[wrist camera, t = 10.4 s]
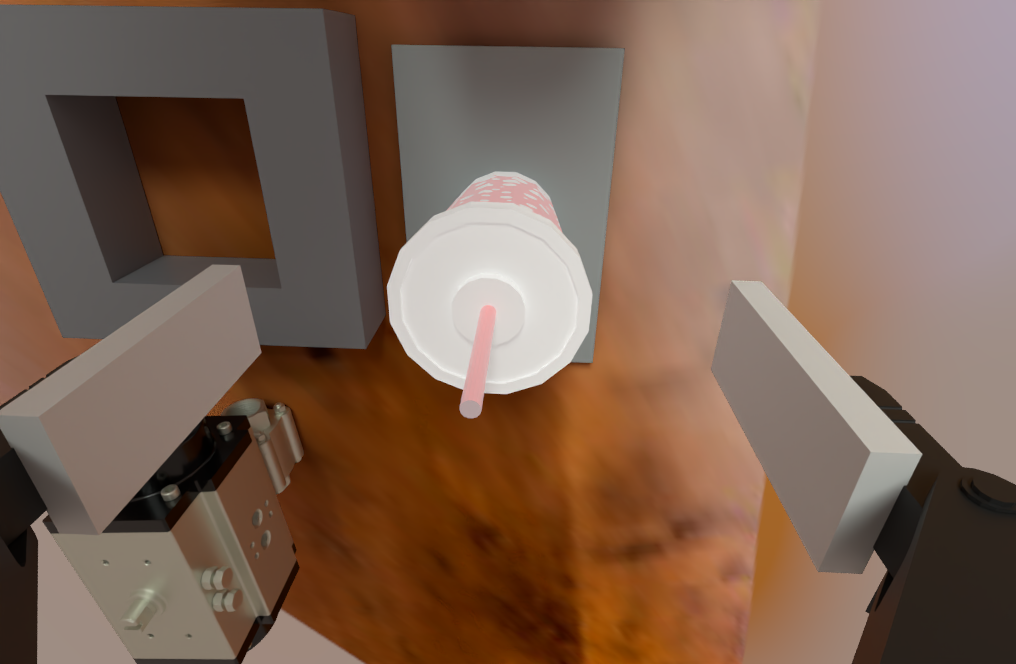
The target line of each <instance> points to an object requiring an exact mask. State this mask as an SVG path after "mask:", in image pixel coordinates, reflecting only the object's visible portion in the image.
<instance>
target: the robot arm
mask: <svg viewBox="0 0 1016 664" xmlns="http://www.w3.org/2000/svg"><path fill="white" fill-rule="evenodd" d="M260 354H261V349H260V344H259V340H258V336H257V332H256V328H255V324H254V320H253V316H252V312H251V308H250V303H249V299H248V295H247V291H246V287H245V283H244V279H243V275H242V271H241V267H240V265H211V266H210V267H208V268H207V269H205V270H204V271H202V272H201V273H199V274H198V275H196V276H195V277H194V278H192V279H191V280H189V281H188V282H186V283H185V284H183V285H182V286H180V287H179V288H177V289H176V290H175V291H173V292H172V293H170V294H169V295H167V296H166V297H164V298H163V299H161V300H160V301H158V302H157V303H156V304H154V305H153V306H151V307H150V308H148V309H147V310H145V311H144V312H142V313H141V314H139V315H138V316H137V317H135V318H134V319H132V320H131V321H129V322H128V323H126V324H125V325H123V326H122V327H120V328H119V329H118V330H116V331H115V332H113V333H112V334H110V335H109V336H107V337H106V338H104V339H103V340H101V341H100V342H99V343H97V344H96V345H94V346H93V347H91V348H90V349H88V350H87V351H85V352H84V353H82V354H81V355H80V356H77V357H75V358H73V359H70V360H68V361H66V362H65V363H63V364H62V365H60V366H59V367H57V368H56V369H54V370H53V371H51V372H50V373H49V374H47V375H46V378H41V379H40V380H38V381H37V382H35V383H34V384H32V385H31V386H29V390H23V391H22V392H20V393H19V394H18V395H16V396H15V397H13V398H12V399H10V400H9V401H7V402H6V403H4V404H3V405H1V406H0V664H37V599H38V593H37V592H38V585H37V584H38V540H37V537H36V535H35V533H34V531H33V530H32V528H31V526H30V525H31V524H32V523H33V522H34V521H35V520H36V519H38V518H39V517H40V516H41V515H42V514H43V513H44V512H45V511H47V512H48V514H49V516H50V518H51V519H52V521H53V523H54V525H55V527H56V528H57V530H58V532H59V533H61V534H81V535H100V534H101V533H102V532H103V530H104V529H105V528H106V527H107V526H108V525H109V524H110V523H111V521H112V520H113V519H114V518H115V517H116V516H117V515H118V514H119V512H120V511H121V510H122V509H123V508H124V507H125V506H126V505H127V503H128V502H129V501H130V500H131V499H132V498H133V497H134V496H135V494H136V493H137V492H138V491H139V490H140V489H141V488H142V487H143V485H144V484H145V483H146V482H147V481H148V480H149V479H150V478H151V476H152V475H153V474H154V473H155V472H156V471H157V470H158V469H159V467H160V466H161V465H162V464H163V463H164V462H165V461H166V460H167V458H168V457H169V456H170V455H171V454H172V453H173V452H174V451H175V449H176V448H177V447H178V446H179V445H180V444H181V443H182V442H183V440H184V439H185V438H186V437H187V436H188V435H189V434H190V433H191V431H192V430H193V429H194V428H195V427H196V426H197V425H198V424H199V423H200V421H201V420H202V419H203V418H204V417H205V416H206V415H207V414H208V412H209V411H210V410H211V409H212V408H213V407H214V406H215V405H216V403H217V402H218V401H219V400H220V399H221V398H222V397H223V396H224V394H225V393H226V392H227V391H228V390H229V389H230V388H231V387H232V385H233V384H234V383H235V382H236V381H237V380H238V379H239V378H240V376H241V375H242V374H243V373H244V372H245V371H246V370H247V369H248V367H249V366H250V365H251V364H252V363H253V362H254V361H255V360H256V358H257V357H258V356H259V355H260ZM711 371H712V373H713V374H714V376H715V378H716V380H717V382H718V384H719V386H720V388H721V390H722V391H723V393H724V395H725V397H726V399H727V401H728V403H729V405H730V407H731V408H732V410H733V412H734V414H735V416H736V418H737V420H738V422H739V424H740V425H741V427H742V429H743V431H744V433H745V435H746V437H747V439H748V441H749V442H750V444H751V446H752V448H753V450H754V452H755V454H756V456H757V458H758V459H759V461H760V463H761V465H762V467H763V469H764V471H765V473H766V475H767V477H768V478H769V480H770V482H771V484H772V486H773V488H774V490H775V492H776V493H777V495H778V497H779V499H780V501H781V503H782V505H783V507H784V508H785V510H786V512H787V514H788V516H789V518H790V520H791V522H792V524H793V525H794V527H795V529H796V531H797V533H798V535H799V537H800V539H801V540H802V543H803V545H804V546H805V548H806V550H807V552H808V554H809V556H810V558H811V560H812V562H813V563H814V565H815V567H816V569H817V571H818V572H835V573H854V574H855V573H856V574H862V573H863V571H864V569H865V567H866V565H867V563H868V561H869V559H870V557H871V555H872V553H873V551H874V550H875V551H876V553H877V554H878V556H879V557H880V559H881V560H882V562H883V563H884V565H885V566H886V568H887V572H886V574H885V576H884V577H883V579H882V581H881V583H880V585H879V587H878V589H877V591H876V592H875V594H874V596H873V598H872V600H871V602H870V604H869V605H868V607H867V610H866V612H867V613H869V617H868V620H867V622H866V625H865V628H864V631H863V634H862V636H861V639H860V642H859V645H858V648H857V650H856V653H855V656H854V659H853V662H852V664H1016V485H1015V484H1013V483H1011V482H1009V481H1007V480H1005V479H1002V478H1000V477H998V476H996V475H994V474H990V473H987V472H984V471H981V470H977V469H973V468H964V467H962V466H961V465H960V464H959V463H957V461H956V460H955V459H954V458H953V457H952V456H951V455H950V454H949V453H948V452H947V451H946V450H945V449H944V448H943V447H941V445H940V444H939V443H938V442H937V441H936V440H935V439H934V438H933V437H932V436H931V435H930V434H929V433H927V432H926V430H925V429H924V428H923V427H922V426H921V425H920V424H916V423H915V419H914V418H913V417H912V416H911V415H909V413H908V412H907V411H906V410H902V406H901V405H900V404H899V403H898V402H897V401H896V400H895V399H894V398H892V396H891V395H890V394H889V393H887V391H885V390H884V389H882V388H881V387H879V386H877V385H875V384H874V383H872V382H870V381H869V380H867V379H866V378H864V377H862V376H849V375H848V374H847V373H846V372H845V371H844V370H843V369H842V367H841V366H840V365H839V364H838V363H837V362H836V361H835V360H834V359H833V358H832V357H831V356H830V355H829V354H828V352H827V351H826V350H825V349H824V348H823V347H822V346H821V345H820V344H819V343H818V342H817V341H816V340H815V339H814V338H813V336H811V334H810V333H809V332H808V331H807V330H806V329H805V328H804V327H803V326H802V325H801V324H800V323H799V321H797V319H796V318H795V317H794V316H793V315H792V314H791V313H790V312H789V311H788V310H787V309H786V307H785V306H784V305H783V304H782V303H781V302H780V301H779V300H778V299H777V298H776V297H775V296H774V295H773V294H772V292H771V291H770V290H769V289H768V288H767V287H766V286H765V285H764V284H763V283H762V282H761V281H731V285H730V289H729V293H728V298H727V302H726V306H725V311H724V315H723V319H722V323H721V328H720V332H719V336H718V341H717V345H716V349H715V354H714V358H713V362H712V366H711Z"/></svg>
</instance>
